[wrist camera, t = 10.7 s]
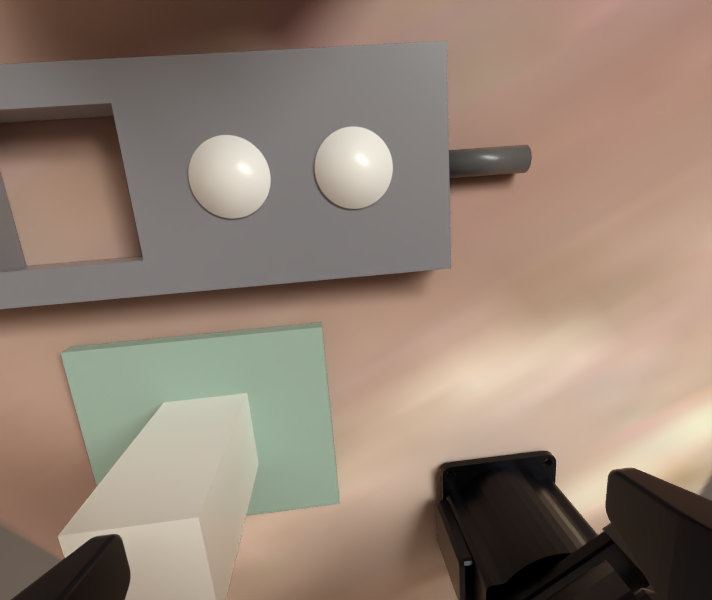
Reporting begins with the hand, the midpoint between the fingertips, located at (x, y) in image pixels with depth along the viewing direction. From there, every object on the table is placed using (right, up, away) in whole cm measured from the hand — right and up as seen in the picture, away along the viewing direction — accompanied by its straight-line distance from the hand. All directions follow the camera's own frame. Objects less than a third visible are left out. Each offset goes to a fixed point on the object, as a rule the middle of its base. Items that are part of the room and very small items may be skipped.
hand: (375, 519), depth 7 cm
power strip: (-7, +9, +11) cm, 16 cm away
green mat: (-8, -2, +13) cm, 16 cm away
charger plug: (-8, -3, +13) cm, 15 cm away
